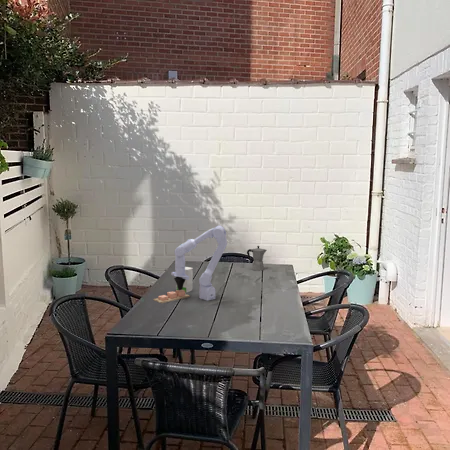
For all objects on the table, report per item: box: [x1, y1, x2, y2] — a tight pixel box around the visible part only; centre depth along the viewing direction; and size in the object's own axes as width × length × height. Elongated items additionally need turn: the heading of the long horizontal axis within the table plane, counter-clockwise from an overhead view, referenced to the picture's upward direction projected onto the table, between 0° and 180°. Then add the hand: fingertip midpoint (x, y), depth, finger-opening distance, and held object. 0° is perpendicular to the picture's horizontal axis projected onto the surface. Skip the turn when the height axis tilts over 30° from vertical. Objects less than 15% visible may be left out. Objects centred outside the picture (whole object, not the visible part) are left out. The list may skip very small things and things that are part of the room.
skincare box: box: [175, 266, 194, 294], centre depth 291 cm, size 8×7×16 cm
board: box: [153, 293, 191, 304], centre depth 275 cm, size 8×20×2 cm, turn 132°
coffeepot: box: [246, 245, 267, 272], centre depth 355 cm, size 15×9×18 cm, turn 103°
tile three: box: [157, 294, 168, 301], centre depth 271 cm, size 4×4×4 cm
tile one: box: [174, 289, 186, 297], centre depth 278 cm, size 4×4×4 cm
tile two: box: [166, 290, 177, 299], centre depth 274 cm, size 4×4×4 cm
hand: (180, 289), depth 278 cm, fingers closed
